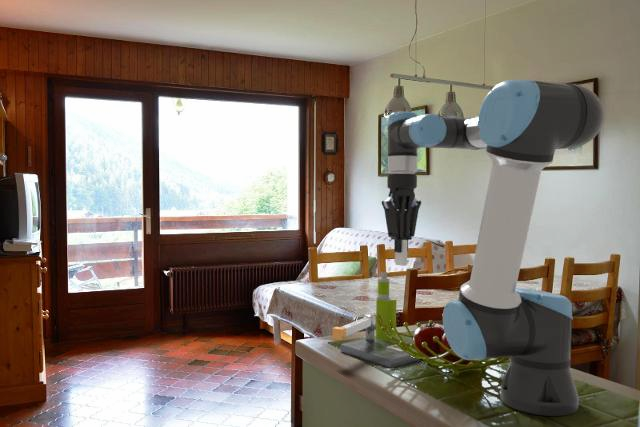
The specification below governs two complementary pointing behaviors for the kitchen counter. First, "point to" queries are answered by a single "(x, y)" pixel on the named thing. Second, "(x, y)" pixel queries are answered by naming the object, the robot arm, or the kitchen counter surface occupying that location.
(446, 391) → the kitchen counter surface
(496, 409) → the kitchen counter surface
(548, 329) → the robot arm
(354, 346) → the plate
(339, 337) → the swing arm
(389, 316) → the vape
